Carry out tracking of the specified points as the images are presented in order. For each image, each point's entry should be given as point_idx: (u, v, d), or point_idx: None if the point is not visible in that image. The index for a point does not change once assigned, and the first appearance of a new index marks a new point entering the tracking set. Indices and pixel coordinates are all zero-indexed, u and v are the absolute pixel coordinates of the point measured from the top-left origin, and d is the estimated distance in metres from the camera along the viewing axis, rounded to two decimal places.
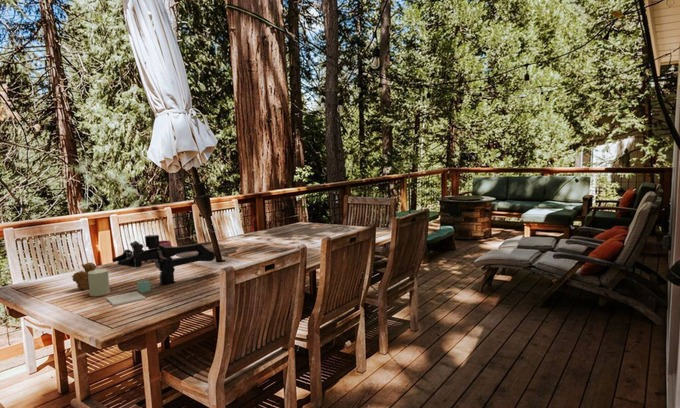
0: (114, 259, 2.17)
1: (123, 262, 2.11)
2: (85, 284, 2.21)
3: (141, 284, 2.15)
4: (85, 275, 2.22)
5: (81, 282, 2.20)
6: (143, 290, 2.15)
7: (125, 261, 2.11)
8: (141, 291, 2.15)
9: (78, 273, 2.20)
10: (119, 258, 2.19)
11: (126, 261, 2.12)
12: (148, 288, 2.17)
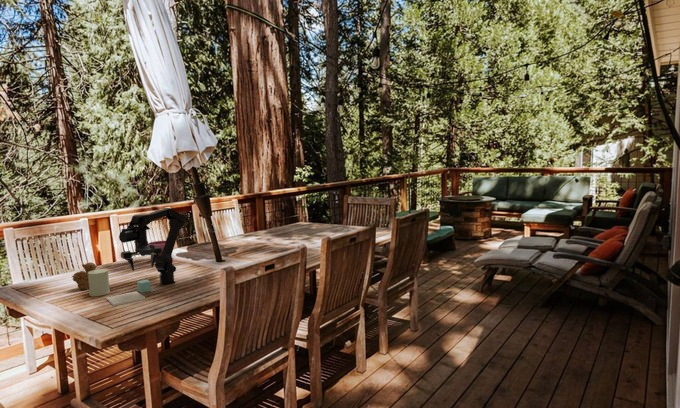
0: None
1: None
2: (85, 284, 2.21)
3: (141, 284, 2.15)
4: (85, 275, 2.22)
5: (81, 282, 2.20)
6: (143, 290, 2.15)
7: None
8: (141, 291, 2.15)
9: (78, 273, 2.20)
10: None
11: None
12: (148, 288, 2.17)
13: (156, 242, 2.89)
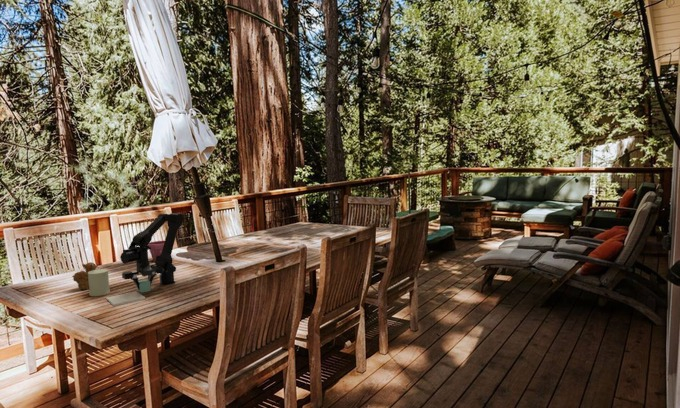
0: None
1: None
2: (86, 284, 2.21)
3: (141, 284, 2.15)
4: (86, 275, 2.22)
5: (82, 282, 2.20)
6: (143, 290, 2.15)
7: None
8: (141, 291, 2.15)
9: (79, 273, 2.21)
10: None
11: None
12: (148, 288, 2.17)
13: (156, 242, 2.89)
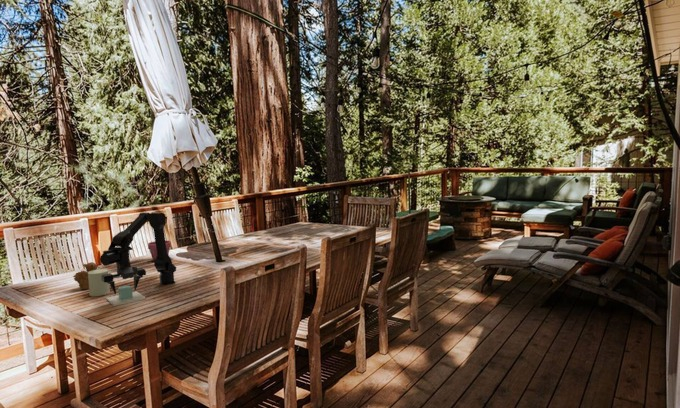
0: (115, 292, 2.02)
1: None
2: (87, 284, 2.21)
3: (122, 290, 2.01)
4: (87, 275, 2.23)
5: (83, 282, 2.20)
6: (124, 296, 2.02)
7: None
8: (122, 298, 2.02)
9: (80, 273, 2.21)
10: (114, 287, 2.01)
11: None
12: (129, 294, 2.04)
13: None
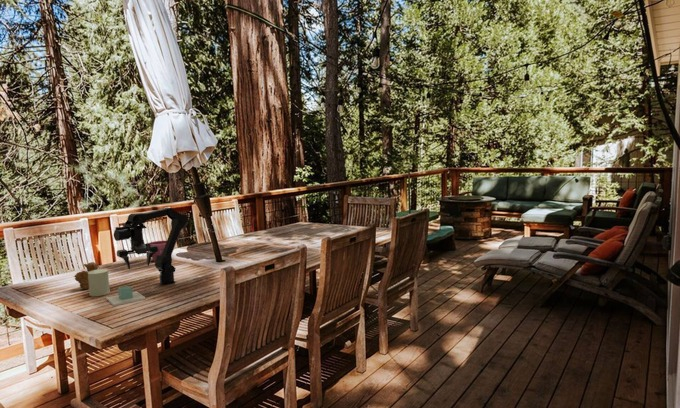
0: None
1: None
2: (87, 284, 2.21)
3: (122, 290, 2.01)
4: (87, 275, 2.23)
5: (84, 282, 2.20)
6: (124, 296, 2.02)
7: None
8: (122, 298, 2.02)
9: (80, 273, 2.21)
10: (128, 262, 2.15)
11: None
12: (129, 294, 2.04)
13: (156, 242, 2.89)
